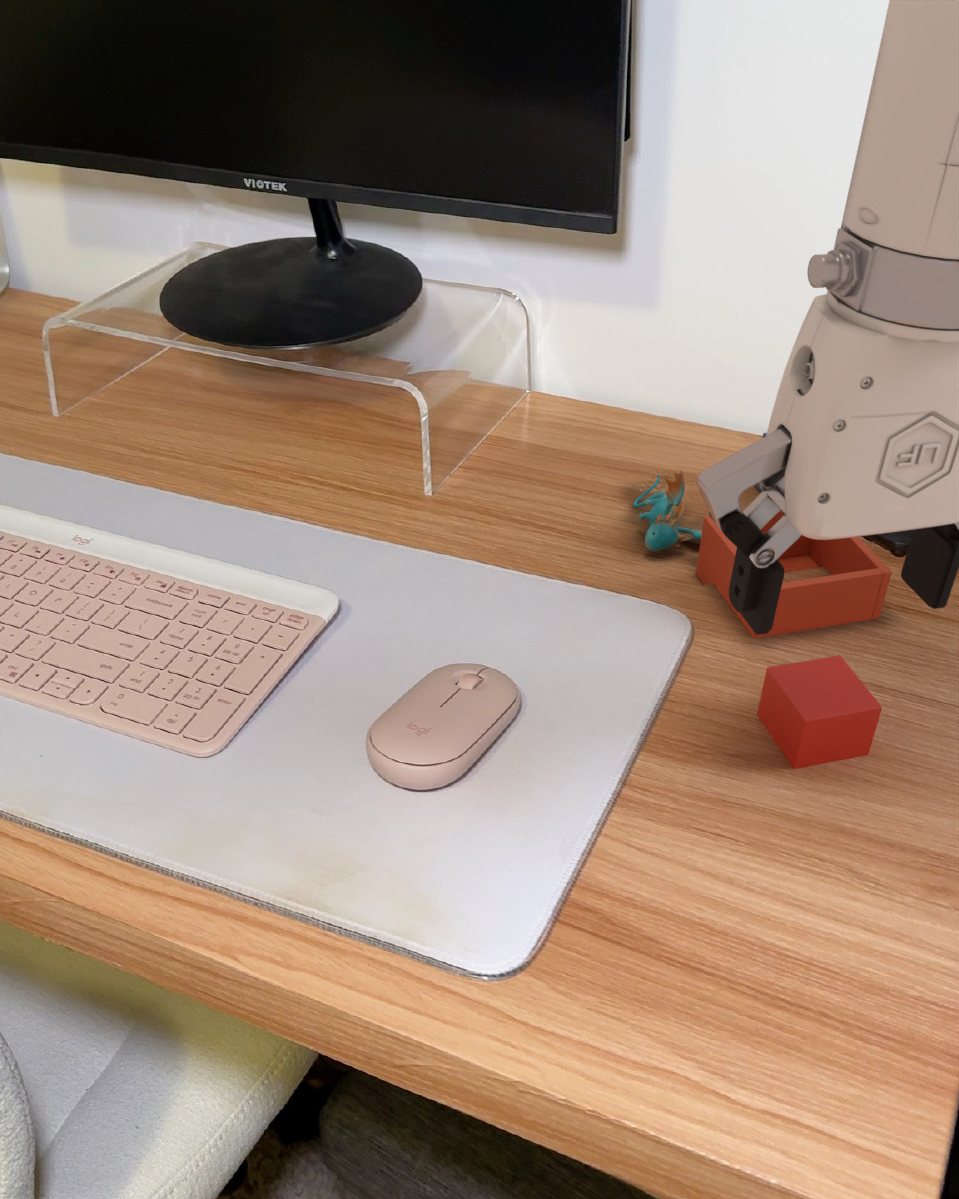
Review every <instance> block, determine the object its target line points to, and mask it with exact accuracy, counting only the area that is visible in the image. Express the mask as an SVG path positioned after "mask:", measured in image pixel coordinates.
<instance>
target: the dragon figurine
mask: <svg viewBox="0 0 959 1199" xmlns="http://www.w3.org/2000/svg"><path fill="white" fill-rule="evenodd" d="M673 475H674V478H675V481H673V480H670V479H668V478H665V477H664V480H665V482H666V484H667V488H668V489H667V490H661V491H658V492H656V493H653V494H652V495H650V496H648V497H647V498H646V499H645V500H643V501H640V500H642V499H643V498H644V497H645V496H646V495H647V494H649V493H650V492H651V491H653V490H654V489H655V488H656V487H657V486H658V484H659V483H660V481H661V476H660V475H659V474H657V478H656V481H655V482H654V484H652V486H650V487H649V488H647V489H646V490H645V491H644V492H643V493H642V494H640V495H639V496H638V497H637V498H635V500H634V501H633V504H632V506H633V507H634V508H636V509H640V508H644V507H646V506H651V507H652V508H651V509H650V510H649V511H645V512H643V513H639V515H638V520H641V521H644V520H645V519H647V521H648V524H649V526H647V529H646V532H645V536H644V544H645V547H646V549H648V550H649V551H653V552H659V551H664V550H666V549H668V548H671V549H672V548H679V547H682V545H681V544H680V543H683V542H684V541H690V540H691V538H689V537H688V536H687V535H690V536H692V537H693V538H694V539H695V540H701V536H702V529H696V528H689V527H681V526H679V525H678V523H679V521H680V520H681V518H682V517H683V515H684V512H685V507H686V503H685V502H684V498H683V497H684V494H685V488H686V486H685V484H686V483H685V476H684V473H683V470H682V469H680V472H679V473H677V472H673ZM638 502H640V503H638ZM680 533H682V534H680ZM686 534H687V535H686Z"/></svg>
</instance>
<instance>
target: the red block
mask: <svg viewBox="0 0 959 1199" xmlns="http://www.w3.org/2000/svg"><path fill="white" fill-rule="evenodd" d="M762 685H763V686H762V689H761V693H760V699H759V703H758V709H757V711H756V712H757V713H756V715H757V717H758V719H759V720H760V721H761V723H762V724H763V726H764V728H765V729H766V730H767V732H768V733H769V735H770V736H771V738H772V740H774V742H775V743H776V745H777V746H778V748H779V750H780V751H781V753H782V755H784V757H785V758H786V760H787V762H788V763H789V765H790V766H791V768H792V769H793V770H796V769H802V768H808V767H813V766H817V765H823V764H829V763H834V762H838V761H844V760H849V759H854V758H855V759H856V758H860V757H865V756H869V754H870V750H871V747H872V745H873V740H874V737H875V733H876V730H877V727H878V724H879V720H880V718H881V714H882V710H883V706H882V705H881V704H880V703H879V701H878V700H877V699H876V697H875V696H874V695H873V694H872V692H871V691H870V690H869V689H868V687H867V686H866V685H865V684H864V683H863V681H862V680H861V679H860V678H859V676H858V675H857V674H856V672H854V670H853V669H852V668H851V667H850V665H849V664H848V663H847V662H846V661H845V659H844V658H843V657H842V656H841V655H834V656H827V657H820V658H815V659H810V660H804V661H797V662H792V663H786V664H780V665H779V664H778V665H774V666H768V667H766V670H765V674H764V680H763V684H762Z"/></svg>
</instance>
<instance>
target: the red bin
mask: <svg viewBox="0 0 959 1199" xmlns="http://www.w3.org/2000/svg"><path fill="white" fill-rule="evenodd" d="M743 511H744V510H742V512H743ZM784 515H785V514H784V513H783V512H782V511H781V510H780V511H779V512H778V513H777V514H776V515H775V516H774V517H773V518H772V519H771V520H770V521H769V522H768V523H767V524H766V525H765V526H764V527H763V528H762V529H761V531H762V532H763V533H764V534H766V533H767V532H768V531H769V530H770V529H771V528H772V527H773V526H774V525H775V524H776V523H777V522H778V521H779V520H780V519H781V518H782V517H783V516H784ZM785 516H786V515H785ZM701 530H702V536H701V539H700V542H699V549H698V556H697V563H696V569H695V574H696V576H697V577H698V579H699V580H700V582H701V583H702V584H703V585H704V586H707V585H712V584H713V585H714V586H715V588H716V589H717V590H718V592H719V593H720V595H721V596H722V597H723V599H724V600H725V601H726V603H727V604H728V605H729V607H730V608H731V610H732V611H733V613H735V615H736V616H737V618H738V619H739V620H740V622H741V623H742V624H743V626H744V627H745V629H746V630H747V631H748V633H749V634H750V635H751V637H752V638H753V639H760V638H766V637H772V636H777V635H783V634H789V633H795V632H802V631H809V630H814V629H821V628H828V627H833V626H840V625H845V624H852V623H857V622H864V621H870V620H876V619H880V616H881V614H882V611H883V610H882V609H883V605H884V602H885V598H886V595H887V592H888V588H889V584H890V581H891V577H892V573H893V571H892V570H891V569H890V568H889V567H888V566H887V564H885V563H884V562H883V561H882V560H881V559H880V558H879V557H878V556H877V555H876V553H875V552H873V550H872V549H871V548H870V547H869V546H868V545H867V544H866V543H865V542H864V540H862V539H861V538H860V536H859V537H850V538H841V539H830V540H817V539H811V538H808V537H805V536H803V535H801V536H800V537H799V538H798V539H797V540H796V541H795V542H794V543H793V544H792V545H791V546H790V547H789V548H788V549H787V550H786V551H785V552H784V553H783V554H782V555H781V556H780V557H779V558H778V559H777V560H778V561H779V562H780V563H781V564H782V566H783V567H784V574H785V573H791V572H798V571H805V570H813V569H818V568H819V569H820V568H825V569H826V570H827V571H828V573H829V574H830V575H824V576H818V577H811V578H804V579H799V580H791V581H785V582H782V587H781V591H780V595H779V600H778V604H777V609H776V613H775V618H774V622H773V626H772V629H771V630H769V632H768V633H767V634H760V635H757V634H755V632H754V631H753V630H752V628H751V627H750V626H749V624H748V623H747V622H746V620H745V619H744V618H743V616H742V615H741V614H740V612H737V611H736V610H735V608H734V607H733V606H732V604H731V602H730V599H729V586H730V581H731V576H732V570H733V565H734V560H735V555H736V550H737V547H736V546H735V545H734V544H733V543H732V542H731V541H730V540H729V539H728V538H727V537H726V536H725V535H724V533H723V532H722V531H721V530H720V528H719V527H718V526H717V525H716V523H715V522H714V521H713V520H712V518H711V517H710V515H706V516H704V517H703V523H702V529H701Z"/></svg>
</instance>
